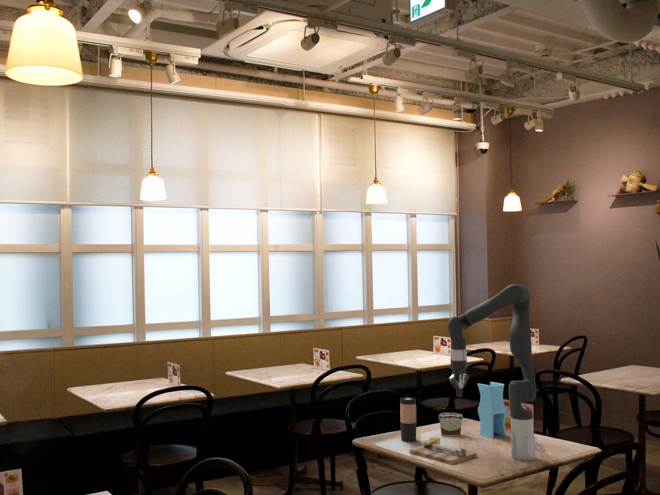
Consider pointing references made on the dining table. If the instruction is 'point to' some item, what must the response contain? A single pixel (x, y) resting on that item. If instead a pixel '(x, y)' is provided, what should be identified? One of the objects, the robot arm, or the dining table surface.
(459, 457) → the wooden board with rail
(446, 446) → the tongs upper arm
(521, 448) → the robot arm
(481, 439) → the dining table surface
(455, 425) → the food container
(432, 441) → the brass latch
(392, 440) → the dining table surface
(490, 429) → the light blue flared block
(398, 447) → the dining table surface
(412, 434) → the travel mug
